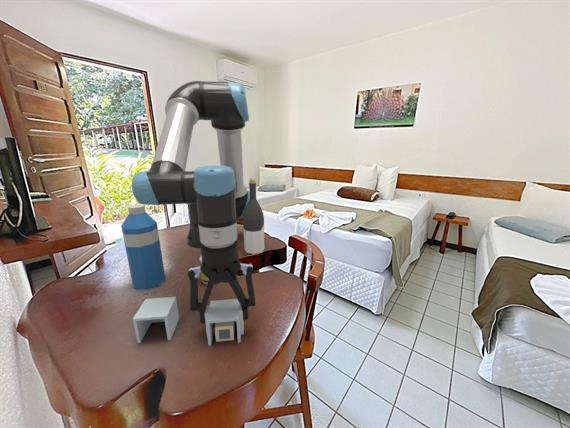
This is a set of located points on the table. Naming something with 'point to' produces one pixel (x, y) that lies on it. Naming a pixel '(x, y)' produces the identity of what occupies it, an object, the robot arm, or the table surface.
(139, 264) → the water bottle
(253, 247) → the wine bottle
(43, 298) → the table surface
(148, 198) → the robot arm
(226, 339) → the letter cube
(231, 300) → the cover far
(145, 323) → the cover near
